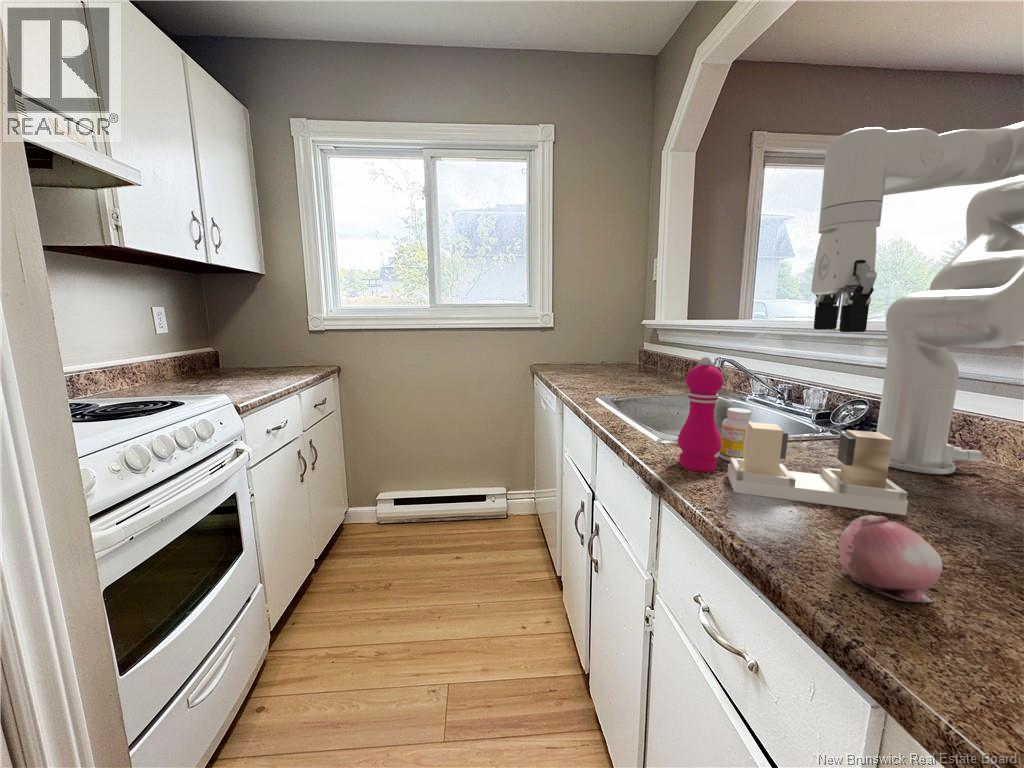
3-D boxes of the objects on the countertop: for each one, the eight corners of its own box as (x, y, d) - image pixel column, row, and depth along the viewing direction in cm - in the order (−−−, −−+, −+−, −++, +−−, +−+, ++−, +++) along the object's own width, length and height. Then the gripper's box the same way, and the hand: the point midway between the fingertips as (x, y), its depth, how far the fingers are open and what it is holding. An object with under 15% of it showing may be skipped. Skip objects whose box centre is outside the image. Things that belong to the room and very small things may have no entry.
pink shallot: (830, 566, 46) (845, 504, 47) (925, 602, 41) (942, 533, 42) (833, 579, 40) (851, 507, 40) (945, 623, 35) (965, 541, 35)
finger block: (871, 483, 62) (879, 432, 61) (884, 494, 59) (892, 439, 57) (833, 479, 64) (840, 429, 63) (843, 488, 60) (850, 436, 59)
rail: (879, 493, 64) (888, 430, 62) (905, 515, 56) (917, 445, 55) (727, 475, 71) (732, 418, 69) (734, 492, 64) (740, 429, 62)
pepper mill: (724, 474, 71) (735, 359, 68) (680, 471, 72) (688, 358, 69) (713, 460, 78) (722, 355, 75) (673, 458, 79) (680, 354, 76)
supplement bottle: (731, 464, 76) (736, 413, 75) (712, 454, 82) (717, 407, 80) (757, 462, 77) (762, 412, 76) (737, 453, 82) (741, 406, 81)
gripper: (800, 232, 73) (792, 328, 76) (846, 209, 57) (834, 333, 60) (850, 228, 71) (840, 328, 74) (913, 203, 55) (897, 332, 58)
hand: (837, 330), depth 67 cm, fingers open, 9 cm apart
